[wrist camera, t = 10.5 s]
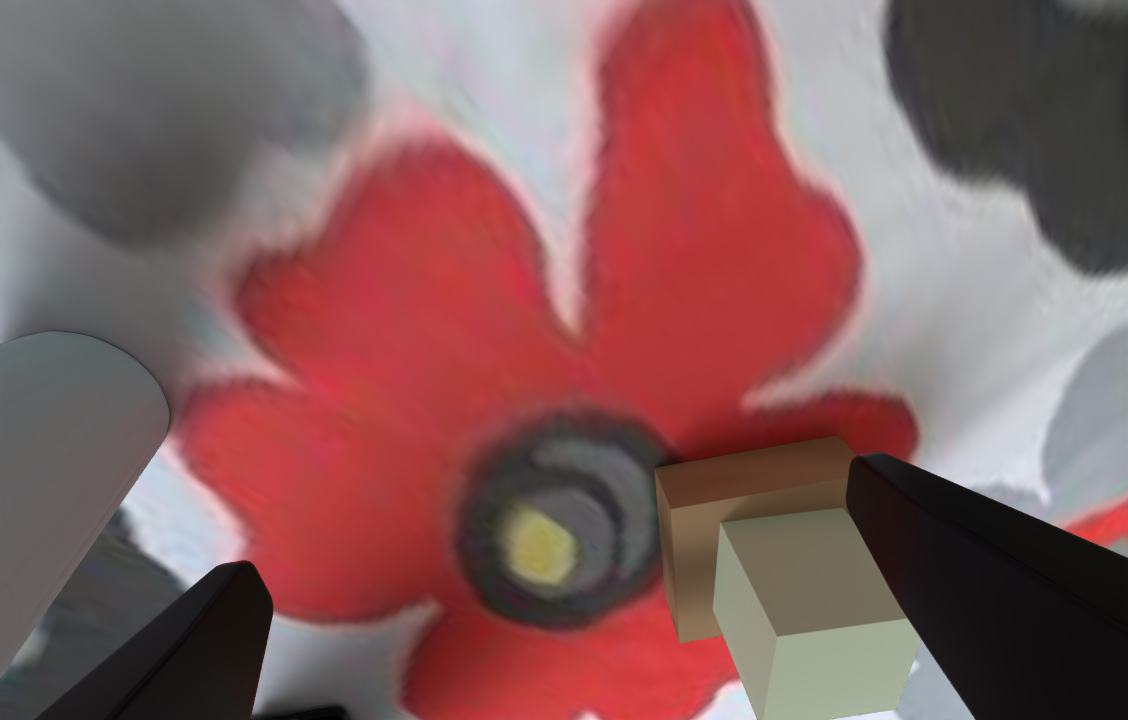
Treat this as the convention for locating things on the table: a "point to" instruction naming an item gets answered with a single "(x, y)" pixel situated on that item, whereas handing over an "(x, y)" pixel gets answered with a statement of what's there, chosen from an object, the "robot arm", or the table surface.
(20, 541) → the cup
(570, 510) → the table surface
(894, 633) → the sage cube
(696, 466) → the base brick
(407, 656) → the table surface
